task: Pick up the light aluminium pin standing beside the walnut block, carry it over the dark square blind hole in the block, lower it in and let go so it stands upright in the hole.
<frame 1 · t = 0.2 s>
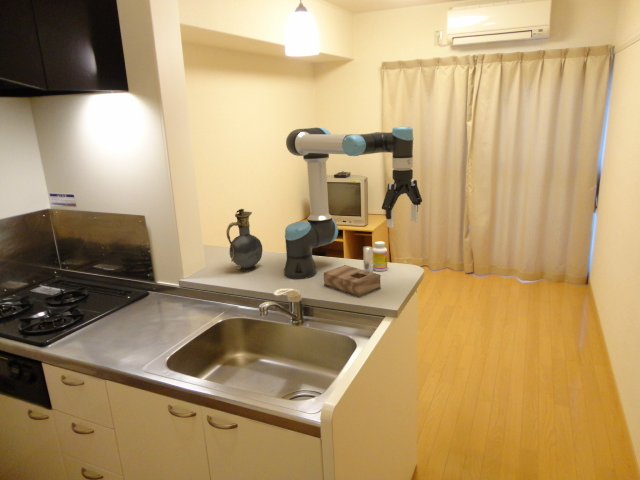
hand: (402, 224, 175), 28 cm above the counter, fingers open, 13 cm apart
pin: (368, 278, 198), on the counter
socket block: (351, 287, 189), on the counter
supplement bottle: (380, 269, 209), on the counter
pitcher: (245, 270, 218), on the counter
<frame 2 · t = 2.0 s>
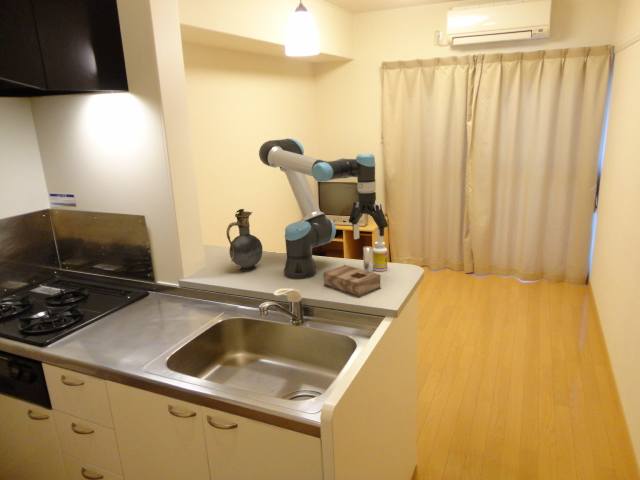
hand: (368, 241, 194), 17 cm above the counter, fingers open, 13 cm apart
nothing on the counter moved.
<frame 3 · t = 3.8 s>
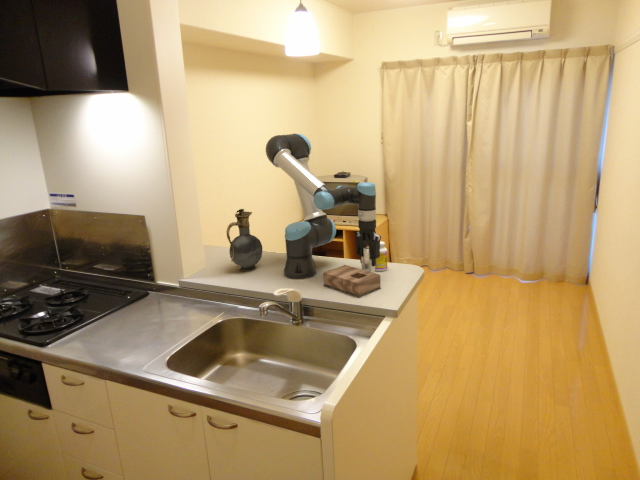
hand: (368, 271, 198), 3 cm above the counter, fingers closed on pin, 4 cm apart
pin: (368, 278, 198), on the counter, touching gripper
everything else where it was.
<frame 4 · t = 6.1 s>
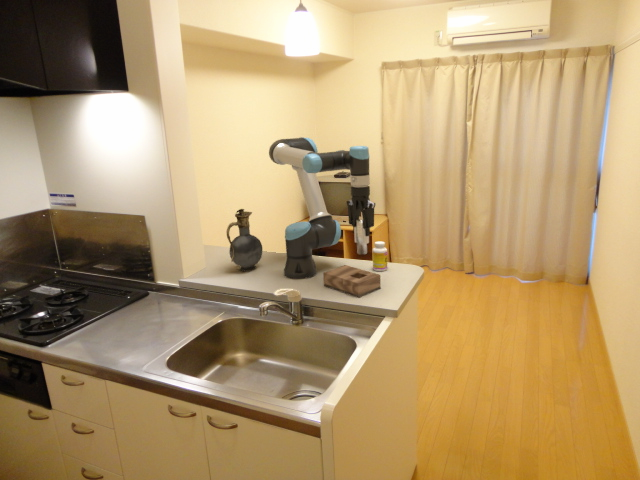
hand: (361, 242, 185), 19 cm above the counter, fingers closed on pin, 4 cm apart
pin: (362, 253, 187), point 14 cm above the counter, touching gripper
everything else where it was.
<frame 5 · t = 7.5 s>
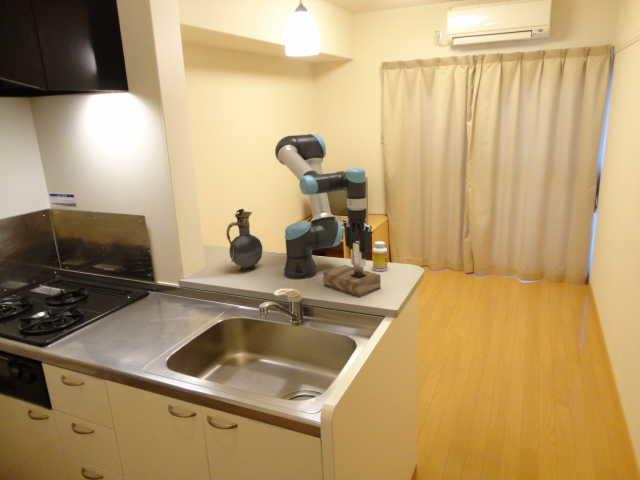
hand: (358, 265, 183), 11 cm above the counter, fingers closed on pin, 4 cm apart
pin: (358, 275, 185), point 6 cm above the counter, touching gripper
everything else where it was.
when the fingers open (7 cm above the counter, at t = 8.4 s): pin drops 1 cm, resting on socket block.
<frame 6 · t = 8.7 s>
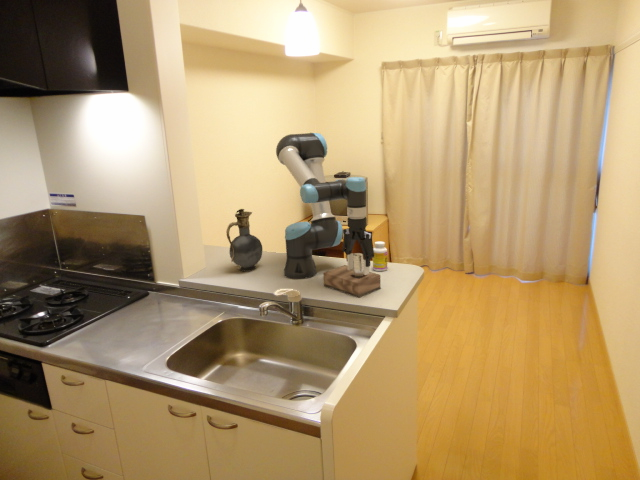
hand: (358, 271, 184), 8 cm above the counter, fingers open, 8 cm apart
pin: (358, 287, 186), point 1 cm above the counter, touching socket block
everything else where it was.
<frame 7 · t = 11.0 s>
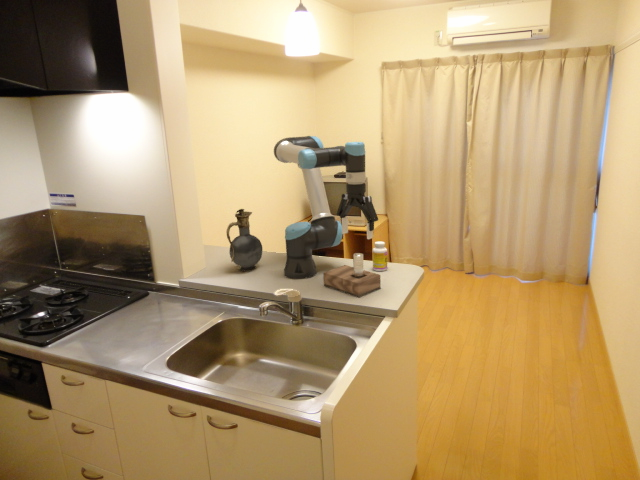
hand: (357, 235, 181), 23 cm above the counter, fingers open, 13 cm apart
nothing on the counter moved.
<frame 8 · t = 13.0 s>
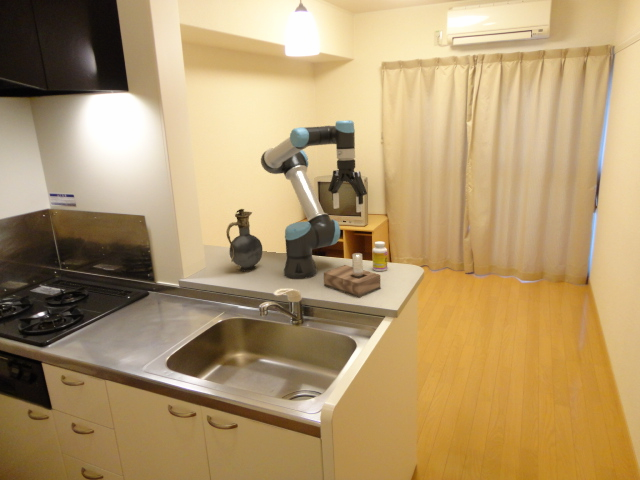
hand: (347, 210, 191), 31 cm above the counter, fingers open, 13 cm apart
nothing on the counter moved.
at the end: pin 0.1 cm from the target spot on the socket block, point 1.1 cm above the socket block's base; pin tilted 2°; the gripper is holding nothing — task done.
